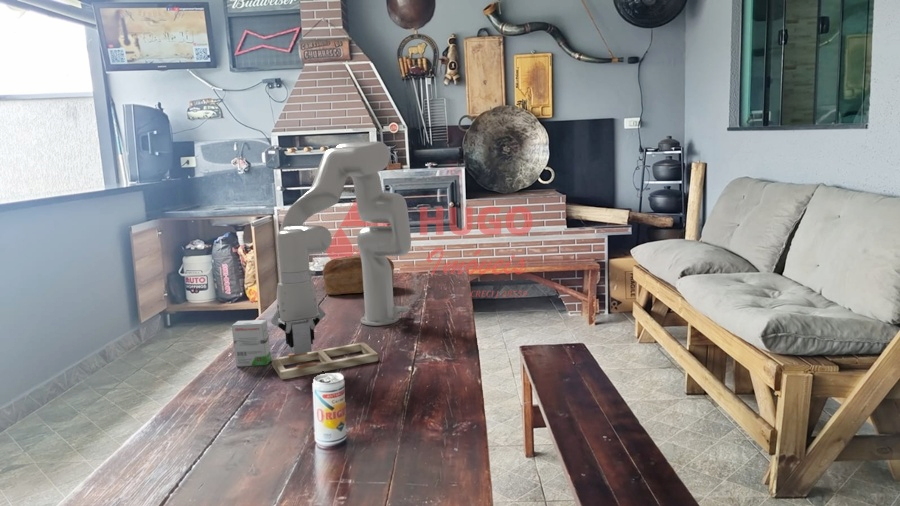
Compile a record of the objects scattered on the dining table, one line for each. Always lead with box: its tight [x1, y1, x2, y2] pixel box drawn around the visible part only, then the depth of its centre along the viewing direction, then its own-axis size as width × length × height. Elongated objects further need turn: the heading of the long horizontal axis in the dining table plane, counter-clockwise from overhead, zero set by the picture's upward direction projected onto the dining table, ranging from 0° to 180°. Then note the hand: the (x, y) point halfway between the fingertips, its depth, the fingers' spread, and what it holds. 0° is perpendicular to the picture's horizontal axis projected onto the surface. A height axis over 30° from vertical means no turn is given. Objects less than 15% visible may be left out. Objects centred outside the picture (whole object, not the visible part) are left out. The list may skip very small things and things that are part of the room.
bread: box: [322, 254, 395, 296], centre depth 256 cm, size 12×28×14 cm, turn 98°
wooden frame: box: [271, 341, 379, 380], centre depth 174 cm, size 26×12×2 cm, turn 116°
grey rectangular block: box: [290, 319, 313, 355], centre depth 170 cm, size 4×4×8 cm
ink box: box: [231, 319, 272, 368], centre depth 176 cm, size 9×5×12 cm, turn 89°
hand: (300, 343), depth 171 cm, fingers closed on grey rectangular block, 4 cm apart
